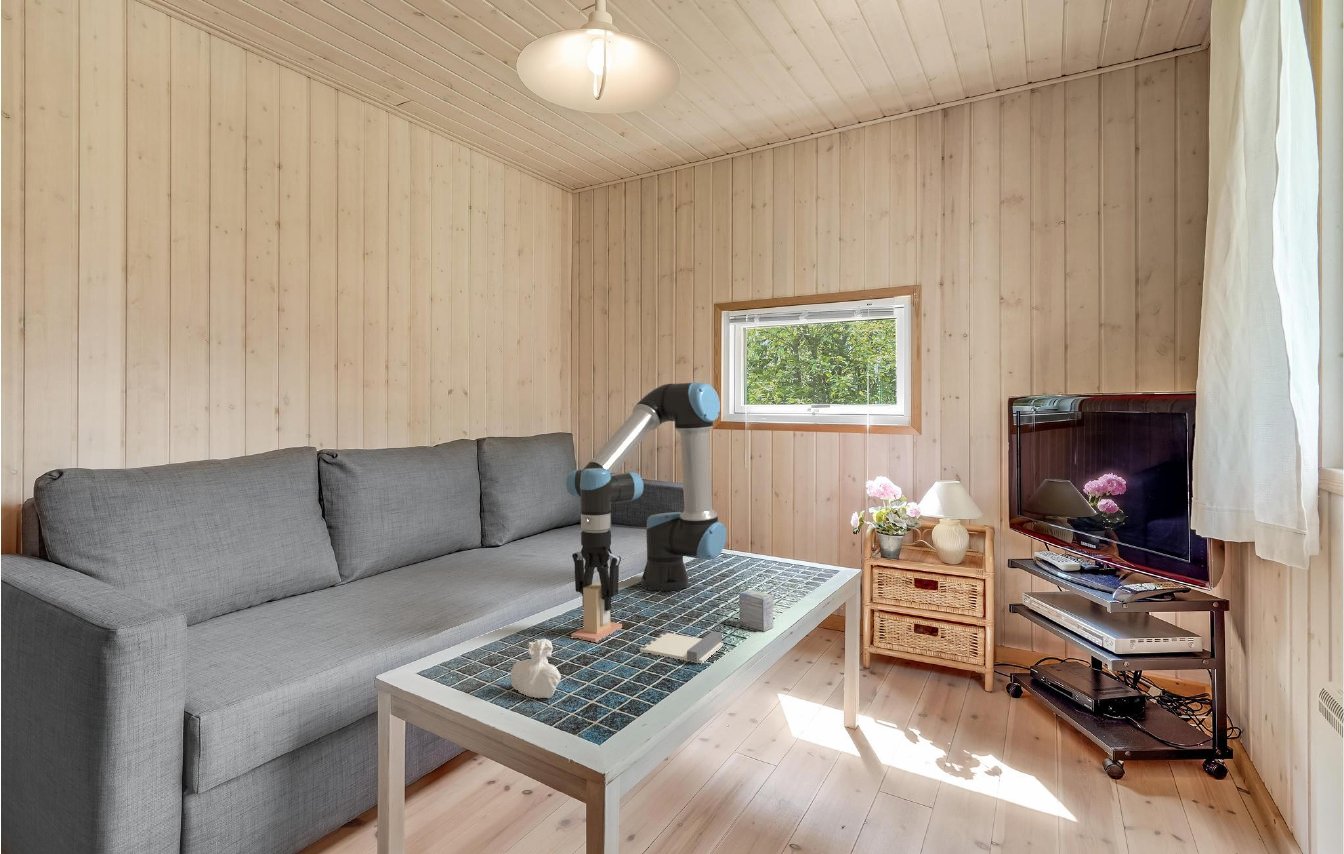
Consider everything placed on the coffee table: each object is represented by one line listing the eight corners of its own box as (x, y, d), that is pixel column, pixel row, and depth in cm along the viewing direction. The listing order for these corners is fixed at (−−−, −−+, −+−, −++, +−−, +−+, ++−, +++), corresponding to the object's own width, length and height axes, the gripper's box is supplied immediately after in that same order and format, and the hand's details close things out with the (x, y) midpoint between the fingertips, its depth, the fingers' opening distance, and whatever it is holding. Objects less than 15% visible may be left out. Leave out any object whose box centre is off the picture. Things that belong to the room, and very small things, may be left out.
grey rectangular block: (773, 627, 166) (773, 594, 166) (763, 632, 163) (763, 598, 163) (749, 621, 172) (748, 589, 172) (738, 625, 169) (738, 592, 168)
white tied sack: (562, 708, 127) (582, 652, 133) (542, 697, 122) (564, 639, 128) (515, 695, 133) (536, 642, 139) (494, 685, 128) (517, 629, 133)
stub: (571, 637, 160) (570, 590, 159) (598, 623, 170) (598, 578, 170) (595, 642, 156) (595, 593, 156) (622, 627, 167) (621, 581, 166)
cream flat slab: (637, 653, 149) (637, 641, 149) (666, 634, 162) (666, 623, 162) (700, 666, 142) (699, 653, 142) (724, 645, 154) (724, 633, 154)
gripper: (559, 529, 163) (560, 620, 164) (616, 535, 155) (617, 631, 156) (577, 524, 170) (578, 612, 170) (632, 530, 162) (633, 621, 162)
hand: (597, 621), depth 163 cm, fingers closed on stub, 4 cm apart
